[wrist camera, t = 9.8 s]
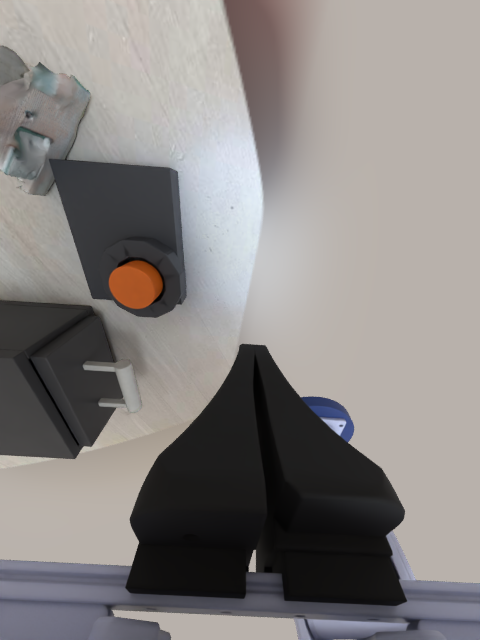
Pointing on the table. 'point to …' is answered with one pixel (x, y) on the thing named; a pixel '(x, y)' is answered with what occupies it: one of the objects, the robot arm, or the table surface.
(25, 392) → the box
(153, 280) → the button
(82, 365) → the drawer
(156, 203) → the control block
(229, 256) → the table surface
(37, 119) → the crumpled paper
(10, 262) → the table surface
